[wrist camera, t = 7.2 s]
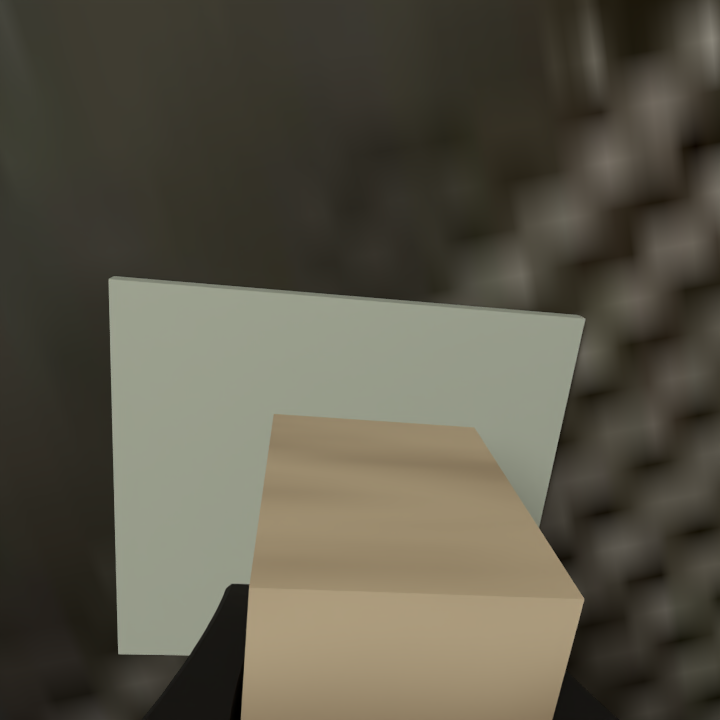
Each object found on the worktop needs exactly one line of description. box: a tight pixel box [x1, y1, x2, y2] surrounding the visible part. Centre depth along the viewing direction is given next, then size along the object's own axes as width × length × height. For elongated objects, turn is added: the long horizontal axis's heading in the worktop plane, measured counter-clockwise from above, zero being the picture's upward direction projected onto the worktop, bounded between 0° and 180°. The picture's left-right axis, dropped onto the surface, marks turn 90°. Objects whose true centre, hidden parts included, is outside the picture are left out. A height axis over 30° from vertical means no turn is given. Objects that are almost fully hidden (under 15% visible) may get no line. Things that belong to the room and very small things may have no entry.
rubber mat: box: [109, 276, 585, 655], centre depth 21 cm, size 15×14×1 cm
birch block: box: [241, 414, 584, 720], centre depth 11 cm, size 8×4×6 cm, turn 174°
